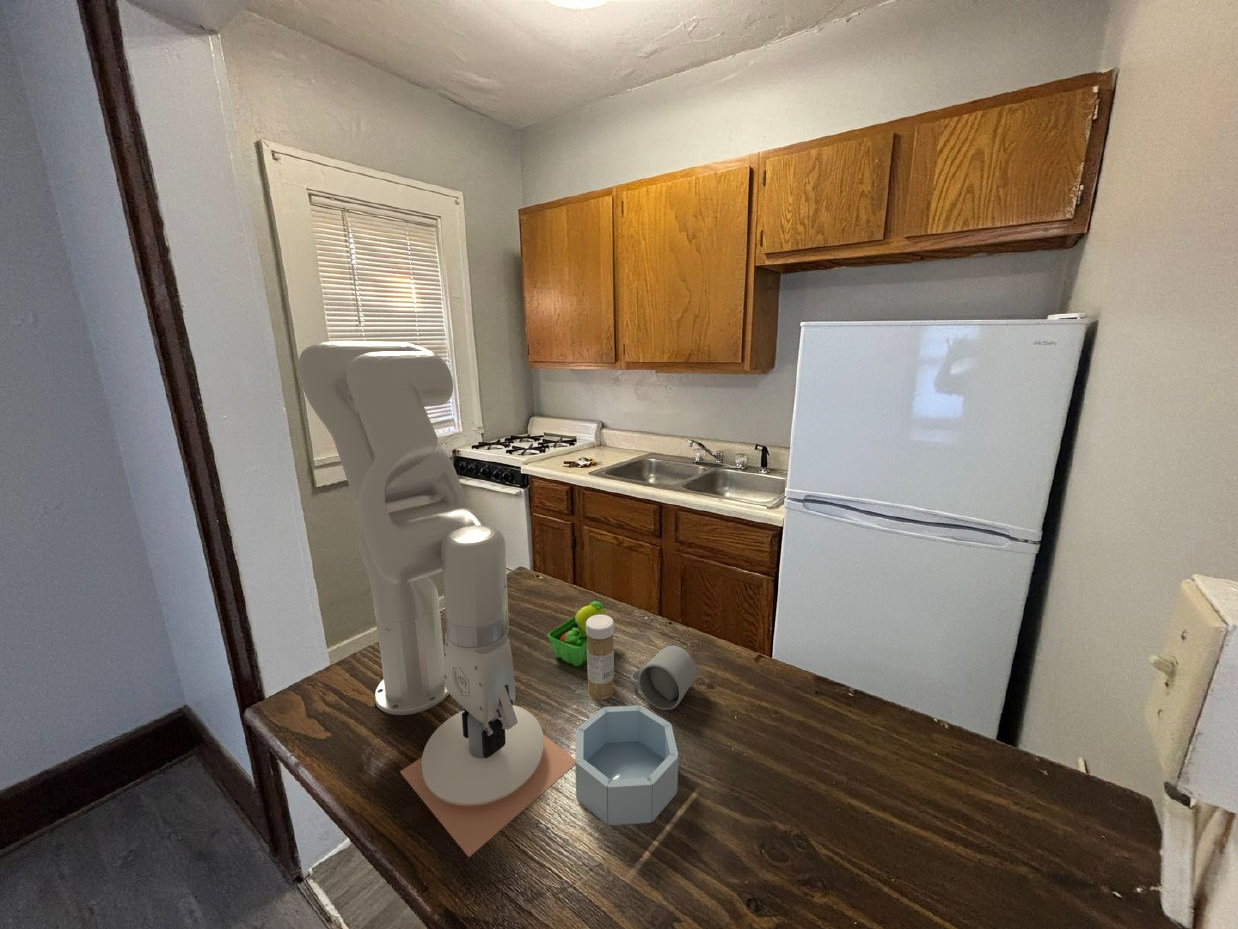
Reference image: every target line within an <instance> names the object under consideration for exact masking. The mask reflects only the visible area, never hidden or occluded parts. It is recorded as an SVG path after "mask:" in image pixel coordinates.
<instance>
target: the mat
mask: <svg viewBox="0 0 1238 929" xmlns="http://www.w3.org/2000/svg"><path fill="white" fill-rule="evenodd" d="M543 738H544V747H543V754H542V758H541V761H540V763H539V765H538V767H537V769H536V770H535V772H534V773H533V775H532V776H531V777H530V778H529V779H528V781H527V782H526V783H524V784H523V785H522V786H521V787H520V788H519V789H517V790H516V791H515V792H513V793H511V794H510V795H508V796H506V797H504V798H502V799H500V800H497V801H494V802H491V803H488V804H483V805H477V806H460V805H454V804H450V803H447V802H445V801H443V800H441V799H439V798H438V797H436V796H435V795H434V794H433V793H432V792H431V791H430V790H429V789H428V787H427V786H426V784H425V781H424V779H423V774H422V757H420V758H418V759H417V760H415V761H414V762H413V763H411V764H410V765H408V766H406V767H405V768H403V769H402V770H400V771H399V773H400V774H401V775H402V777H403V778H404V779H405V780H406V782H408V784H409V785H410V786H411V788H412V789H413V790H414V791H415V793H416V794H417V796H419V798H420V799H421V800H422V802H424V804H425V806H426V807H427V808H429V810H430V811H431V813H432V814H433V815H434V816H435V818H436V819H437V820H438V822H439V823H440V824H441V825H442V826H443V827H444V829H445V830H446V831H447V832H448V833H449V835H450V836H451V837H452V839H453V840H454V841H455V843H457V845H458V846H459V847H460V849H461V850H462V851H463V852H464V853H465V855H466V856H467V858H470V857H472V855H473V854H475V853H476V852H477V851H478V850H479V849H481V847H483V846H484V845H485V844H486V843H487V842H488V841H490V840H491V839H492V838H493V837H495V835H497V834H498V833H499V832H500V831H502V829H504V828H505V827H506V826H507V825H508V824H509V823H510V822H511V821H512V820H514V819H515V818H516V817H517V816H519V815H520V813H522V812H523V811H524V810H525V809H526V808H527V807H529V806H530V805H531V804H532V803H533V802H535V800H537V799H538V798H539V797H540V796H541V795H542V794H543V793H545V792H546V791H547V790H548V789H550V787H551V786H553V785H554V784H555V783H556V782H557V781H559V779H561V778H562V777H563V776H564V775H565V774H567V773H568V771H570V770H571V769H572V768H574V766H575V757H573V756H572V755H570V754H569V753H568V752H567V751H565V750H564V749H563V748H561V747H560V746H559V745H558V744H557V743H555V742H554V741H553V740H552V739H550V738H549V737H548V736H547V735H545V734H544V733H543Z"/></svg>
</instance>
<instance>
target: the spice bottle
mask: <svg viewBox="0 0 1238 929" xmlns="http://www.w3.org/2000/svg"><path fill="white" fill-rule="evenodd" d="M614 622H615V621H614V619H613V618H612V617H611V616H610V615H606V614H604V615H594V616H592V617H590V618H589V619H588V620H587V621H586V634H587V660H586V662H587V666H586V667H587V668H586V669H587V685H588V686H587V694H588V696H589V697H590V698H592V699H593V700H599V701H602V700H603V701H604V700H606V699H609V698H611V697H612V696H613V695H614V693H615V688H614V677H615V658H614V656H615V652H614V651H615V649H614V633H615V623H614Z"/></svg>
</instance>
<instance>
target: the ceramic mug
mask: <svg viewBox="0 0 1238 929" xmlns="http://www.w3.org/2000/svg"><path fill="white" fill-rule="evenodd" d="M696 676H697V664H696V661H695V659H694V657H693V656H692V655H691V653H690V652H689V651H688V650H686V649H685V648H683V647H682V646H679V645H668V646H666V647H664V648H663V649H661V650H660V651H658V652H657V653H656V655H655V656H654V657H653V658H651V659H650V660H649V661H648V662H647V663H646V664H645V665H644V666H642V667H640V668H638V669H636V670H635V671H634V672H633V673H632V674H631V675H630V682H631V685H632V687H633V688H634V689H636V690H638V691H640V693H641V694H642V696H643V698H645V700H646V701H647V702H648V703H649V704H650V705H651V706H653V707H655V708H657V709H659V710H663V711H669V710H670V711H671V710H673V709H676V707H678V706H679V704H680V703H681V702H682V700H683V698H684V696H685V695H686V694H687V692H688V690H689V688H690V687H691V686H692V684H693V682H694V681H695V679H696Z"/></svg>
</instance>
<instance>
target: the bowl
mask: <svg viewBox="0 0 1238 929" xmlns="http://www.w3.org/2000/svg"><path fill="white" fill-rule="evenodd" d="M675 739H676V738H675V735H674V731H673V725H672V724H671V723H670V722H669V721H667V720H666V719H664V718H662V717H661V716H659V715H657V714H656V713H655V712H653V711H651V710H649V709H647V708H646V707H644V706H642V705H637V704H636V705H620V706H619V705H618V706H604V707H602V708H601V709H599V710H597V712H595V713H594V714H592V716H590V717H589V718H588V719H587V720H585V721H584V722H583V723H582V724H581V725H579V726H578V727H577V728H576V730H575V757H574V759H575V765H574V766H575V796H576V800H577V801H579V802H580V804H582V805H583V806H584V807H585V808H587V810H589V811H590V812H591V813H592V814H593V815H595V816H596V817H597V819H600V820H601V821H602V822H603V823H604V824H605V825H606V826H607V825H608V826H617V825H618V826H620V825H635V824H649V823H652V822H654V821H655V820H656V818H658V816H659V815H660V814H661V812H662V811H663V810H664V809H665V808H666V806H667V805H668V804H669V803H670V802H671V801H672V799H674V797H675V796H676V795H677V793H678V780H679V776H678V775H679V752H678V748H677V742H676V740H675Z"/></svg>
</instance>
